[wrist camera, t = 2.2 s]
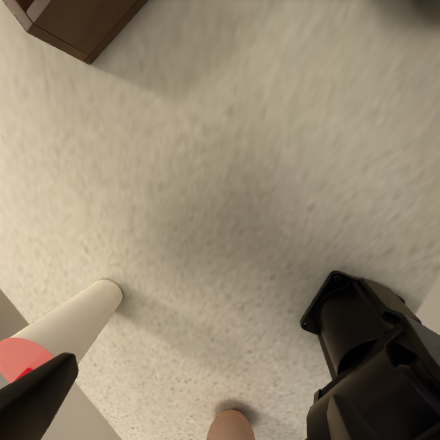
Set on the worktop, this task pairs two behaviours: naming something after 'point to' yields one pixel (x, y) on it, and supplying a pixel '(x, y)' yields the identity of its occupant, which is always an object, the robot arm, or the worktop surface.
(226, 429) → the egg
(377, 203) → the worktop surface
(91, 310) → the cup
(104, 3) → the chest
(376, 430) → the robot arm
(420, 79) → the worktop surface
